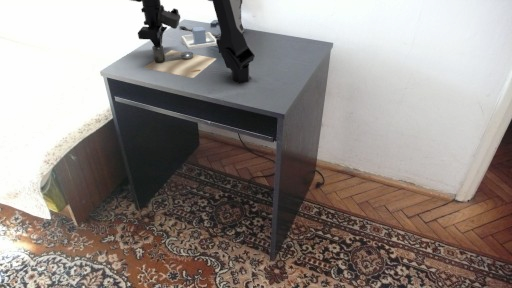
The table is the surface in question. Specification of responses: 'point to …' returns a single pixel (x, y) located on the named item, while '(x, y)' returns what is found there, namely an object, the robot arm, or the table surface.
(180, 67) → the crank plate
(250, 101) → the table surface
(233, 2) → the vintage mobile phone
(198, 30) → the block
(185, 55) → the crank
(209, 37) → the tray
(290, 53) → the table surface
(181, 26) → the tactical tomahawk
